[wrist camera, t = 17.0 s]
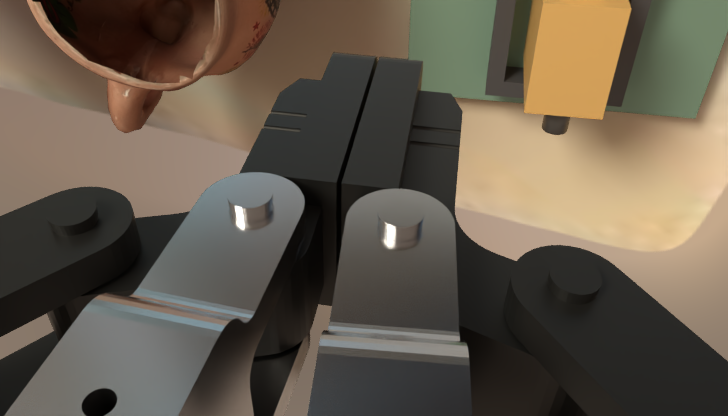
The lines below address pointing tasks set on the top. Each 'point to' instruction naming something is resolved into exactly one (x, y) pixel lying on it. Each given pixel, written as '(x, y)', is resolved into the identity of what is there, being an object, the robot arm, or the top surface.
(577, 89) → the keyed plug
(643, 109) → the board
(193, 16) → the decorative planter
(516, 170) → the top surface
